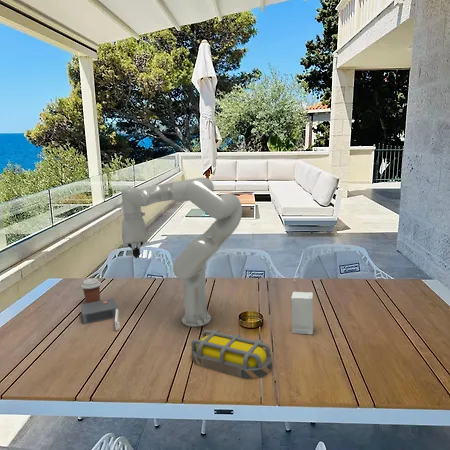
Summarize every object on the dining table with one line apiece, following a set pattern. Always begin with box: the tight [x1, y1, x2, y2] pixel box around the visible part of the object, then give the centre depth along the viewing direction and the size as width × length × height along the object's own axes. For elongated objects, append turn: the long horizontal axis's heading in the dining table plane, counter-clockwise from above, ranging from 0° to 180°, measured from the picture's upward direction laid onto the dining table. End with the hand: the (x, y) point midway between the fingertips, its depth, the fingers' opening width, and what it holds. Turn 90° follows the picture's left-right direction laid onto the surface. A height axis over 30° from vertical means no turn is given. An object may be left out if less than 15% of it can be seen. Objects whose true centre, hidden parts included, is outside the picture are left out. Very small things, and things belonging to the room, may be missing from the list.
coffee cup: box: [80, 277, 102, 304], centre depth 194 cm, size 9×9×12 cm
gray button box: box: [80, 298, 119, 325], centre depth 182 cm, size 14×15×5 cm
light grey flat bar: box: [114, 308, 121, 331], centre depth 172 cm, size 2×13×4 cm, turn 13°
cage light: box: [190, 329, 273, 380], centre depth 140 cm, size 15×8×30 cm
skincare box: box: [290, 291, 315, 335], centre depth 158 cm, size 8×7×16 cm
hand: (136, 257), depth 175 cm, fingers closed
